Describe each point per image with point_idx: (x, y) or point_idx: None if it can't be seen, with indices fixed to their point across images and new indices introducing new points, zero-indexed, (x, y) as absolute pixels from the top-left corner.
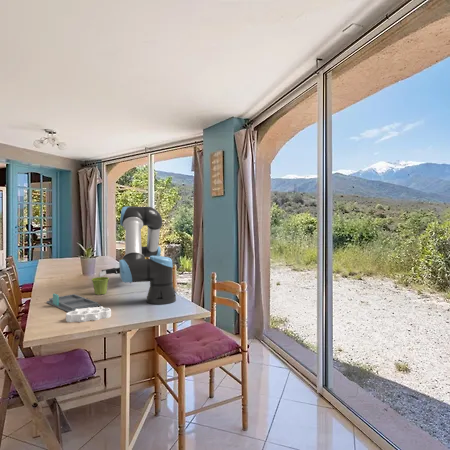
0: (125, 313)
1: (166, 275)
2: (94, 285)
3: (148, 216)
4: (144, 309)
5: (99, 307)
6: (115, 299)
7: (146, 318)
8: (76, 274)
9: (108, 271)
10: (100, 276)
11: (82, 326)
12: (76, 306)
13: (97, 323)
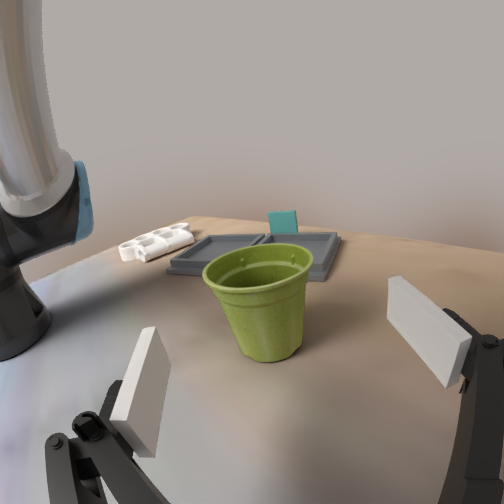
0: (98, 271)
1: None
2: (276, 277)
3: None
4: (63, 290)
5: (145, 247)
6: (147, 313)
7: (65, 271)
8: None
9: (469, 395)
10: (389, 320)
11: None
12: (204, 239)
13: None
